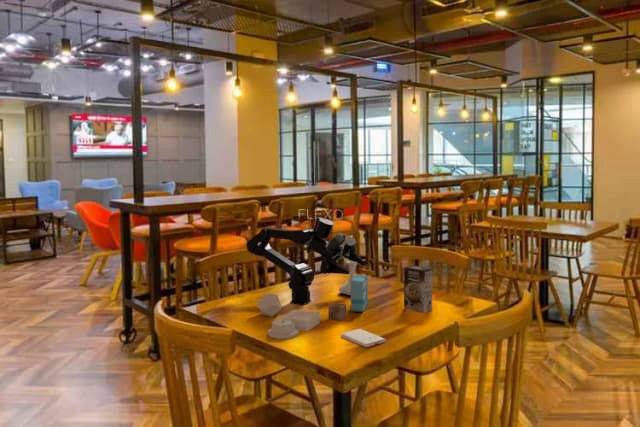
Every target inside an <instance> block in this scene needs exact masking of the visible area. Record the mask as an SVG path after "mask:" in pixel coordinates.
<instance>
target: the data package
mask: <svg viewBox="0 0 640 427" xmlns="http://www.w3.org/2000/svg"><path fill="white" fill-rule="evenodd" d="M368 282H369V281H368V275H365V274H364V275H362V274H355V277H354V278H353V279H352V280H351V295H350V311H351V312H355V313H364V311H365V310H366V308H367V306H368V301H369V300H368V299H369V298H368V293H369V292H368V290H369V289H368V285H369V284H368Z"/></svg>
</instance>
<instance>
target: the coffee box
mask: <svg viewBox="0 0 640 427" xmlns="http://www.w3.org/2000/svg"><path fill="white" fill-rule="evenodd" d="M403 268H404V269H403V271H404V272H403V273H404V274H403V275H404V276H403V277H404V278H403V280H404V281H403V309H404V310H409V311H413V312H414V311H415V312H418V313H422V314H423V313H425V314H426V313H427V312H429V311H432V310H433V284H434V283H433V282H434V268H433V267H427V266H421V265H415V264H413V265H408V266H404V267H403Z"/></svg>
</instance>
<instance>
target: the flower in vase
mask: <svg viewBox="0 0 640 427" xmlns="http://www.w3.org/2000/svg"><path fill="white" fill-rule="evenodd" d="M344 235H345V241H344V242H343V243H342V244H341V246H342V249H341V250H343V249H344V245H345V244H347V243H348V242H350V241H353V242H355V243H356V244H357V241H356V239H355V238H354V237H352V236H351V235H347V234H344ZM341 259H346V258H345V257H344V256H343V257H342V258H341ZM346 264H347V265H348V271H349V272H350V273H349V278H348V280H346V282H345V283H342V285H341V286H340V287H339V289H338V291H339V293H341V294H343V295H346V296H351V280H352V279H353V278H354V277H355V275H356V267H357V265H358V263H357V262H354V261H351V260H347V261H346Z"/></svg>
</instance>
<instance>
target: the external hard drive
mask: <svg viewBox="0 0 640 427" xmlns="http://www.w3.org/2000/svg"><path fill="white" fill-rule="evenodd" d="M340 337H341V338H342V339H345V340H347V341H350V342H352V343H355V344H357V345H360V346H362V347H364V348H368V347H372V346H376V345H381V344H384V343H387V339H386V338H383V337H382V336H380V335H377V334H374V333H372V332H370V331H367V330H364V329H361V328H358V329H354V330H350V331H346V332H342V333H341V335H340Z"/></svg>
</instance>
